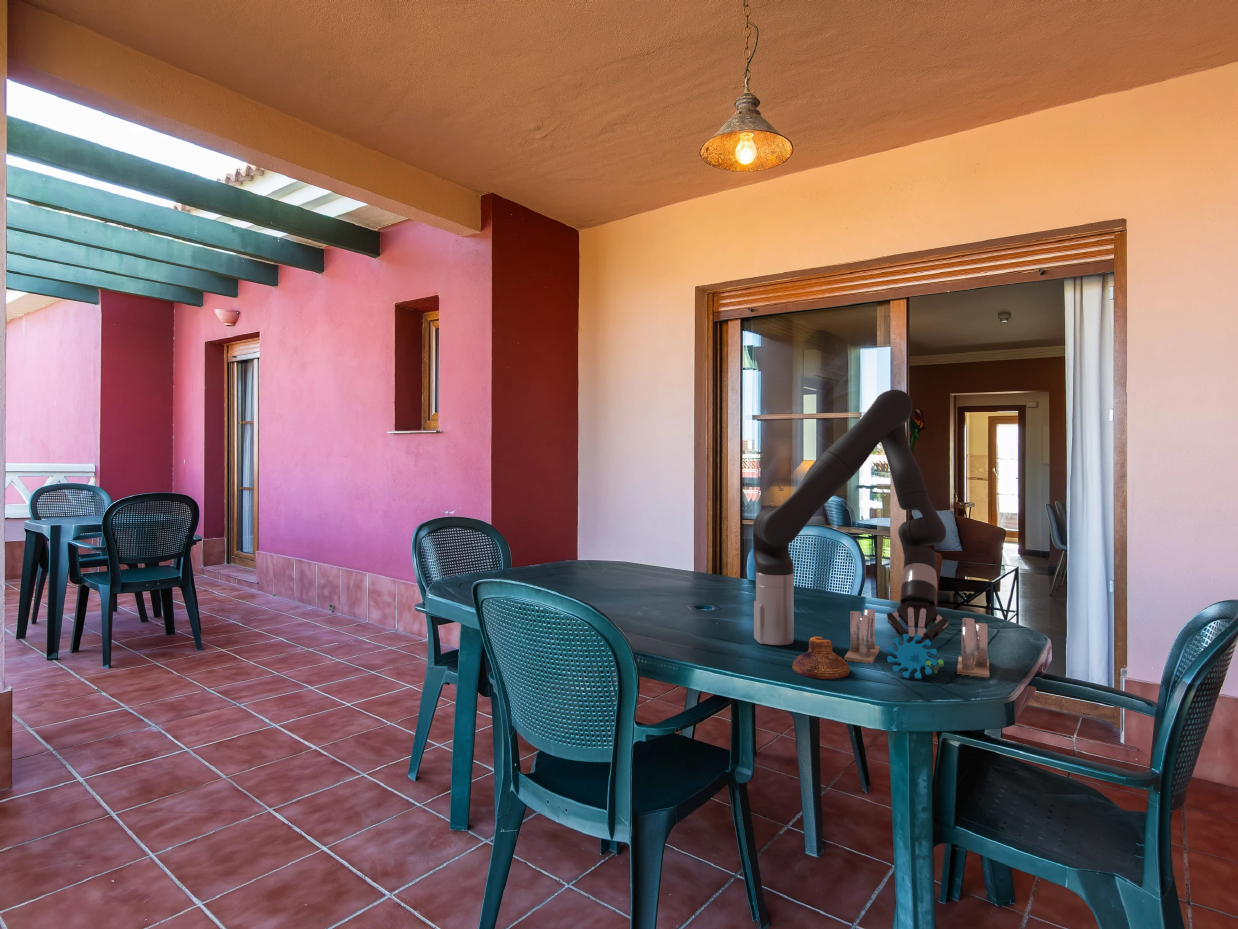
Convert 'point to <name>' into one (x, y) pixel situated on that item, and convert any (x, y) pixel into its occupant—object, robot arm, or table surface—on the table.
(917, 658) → the gear
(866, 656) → the spacers
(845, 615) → the table surface
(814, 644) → the bell
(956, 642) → the table surface
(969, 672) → the rack
